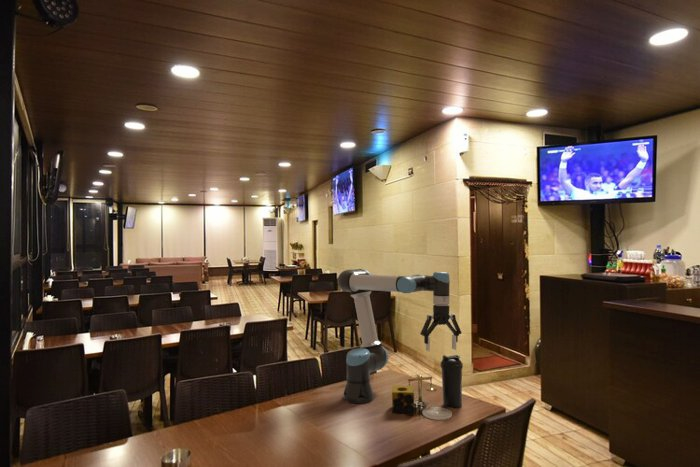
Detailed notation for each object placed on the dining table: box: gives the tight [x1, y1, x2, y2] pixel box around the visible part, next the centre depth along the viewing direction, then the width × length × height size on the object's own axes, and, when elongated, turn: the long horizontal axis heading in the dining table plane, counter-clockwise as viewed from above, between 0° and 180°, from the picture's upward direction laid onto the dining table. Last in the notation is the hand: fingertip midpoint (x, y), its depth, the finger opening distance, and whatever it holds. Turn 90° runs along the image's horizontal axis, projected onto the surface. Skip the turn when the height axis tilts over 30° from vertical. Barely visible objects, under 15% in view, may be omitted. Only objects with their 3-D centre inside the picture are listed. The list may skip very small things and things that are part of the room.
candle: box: [391, 385, 416, 415], centre depth 191 cm, size 10×10×10 cm
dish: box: [422, 406, 453, 421], centre depth 186 cm, size 13×13×1 cm
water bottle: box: [440, 354, 464, 409], centre depth 197 cm, size 10×10×23 cm
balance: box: [407, 374, 437, 406], centre depth 199 cm, size 16×5×14 cm, turn 59°
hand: (441, 350), depth 196 cm, fingers open, 13 cm apart
